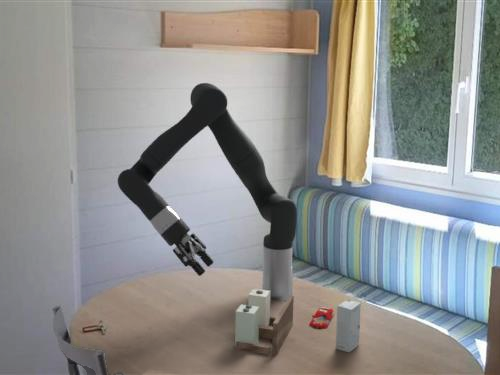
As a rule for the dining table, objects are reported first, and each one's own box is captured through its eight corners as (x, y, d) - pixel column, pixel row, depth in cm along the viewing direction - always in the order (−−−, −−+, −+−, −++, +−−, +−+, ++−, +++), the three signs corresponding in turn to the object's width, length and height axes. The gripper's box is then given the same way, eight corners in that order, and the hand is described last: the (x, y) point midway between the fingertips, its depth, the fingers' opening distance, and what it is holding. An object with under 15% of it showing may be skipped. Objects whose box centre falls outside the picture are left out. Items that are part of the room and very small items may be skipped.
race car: (325, 335, 178) (326, 322, 177) (306, 332, 180) (307, 319, 179) (336, 317, 190) (337, 305, 189) (318, 314, 192) (319, 302, 191)
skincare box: (349, 353, 167) (352, 310, 165) (334, 348, 170) (336, 305, 167) (359, 344, 172) (362, 302, 170) (344, 340, 175) (347, 298, 172)
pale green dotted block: (235, 346, 167) (235, 310, 165) (240, 339, 171) (241, 303, 169) (253, 349, 165) (254, 312, 163) (258, 341, 170) (259, 305, 168)
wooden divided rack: (221, 351, 167) (221, 315, 165) (242, 322, 185) (242, 290, 183) (276, 359, 163) (277, 323, 161) (292, 329, 181) (293, 296, 179)
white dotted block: (248, 328, 178) (248, 293, 176) (252, 321, 183) (253, 287, 180) (265, 330, 177) (266, 295, 175) (269, 323, 181) (270, 289, 179)
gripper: (170, 223, 172) (209, 269, 172) (186, 212, 186) (223, 254, 186) (151, 240, 174) (190, 285, 174) (169, 227, 188) (204, 269, 188)
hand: (207, 269), depth 180 cm, fingers open, 8 cm apart
